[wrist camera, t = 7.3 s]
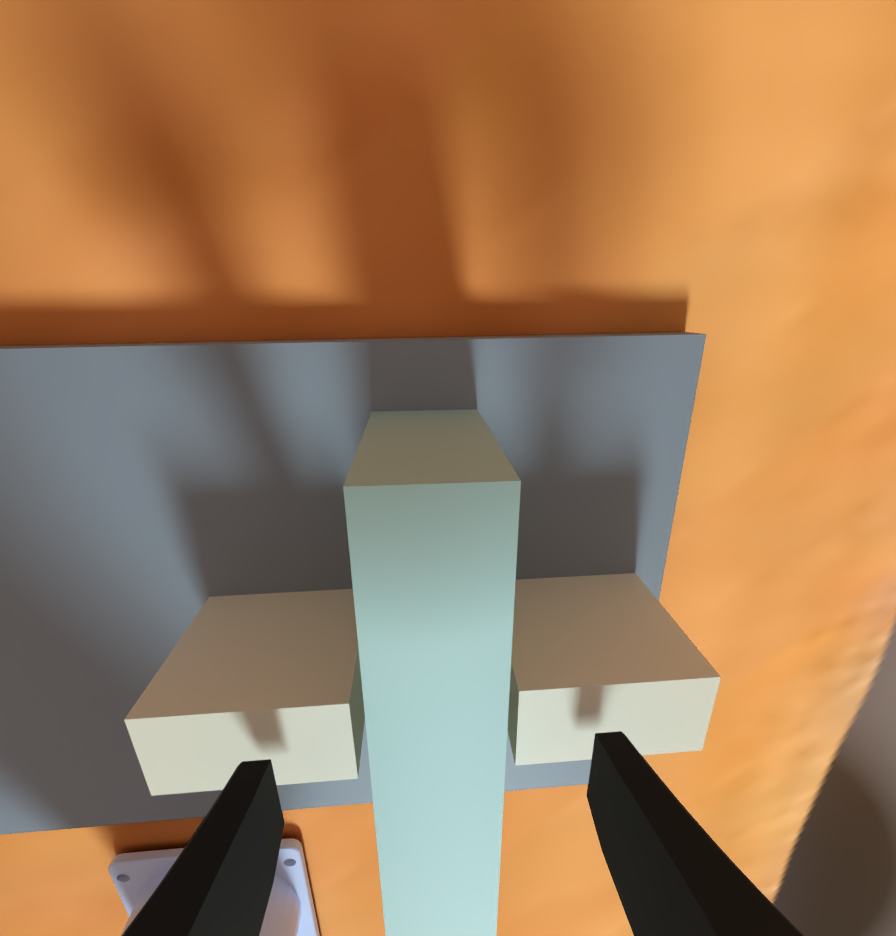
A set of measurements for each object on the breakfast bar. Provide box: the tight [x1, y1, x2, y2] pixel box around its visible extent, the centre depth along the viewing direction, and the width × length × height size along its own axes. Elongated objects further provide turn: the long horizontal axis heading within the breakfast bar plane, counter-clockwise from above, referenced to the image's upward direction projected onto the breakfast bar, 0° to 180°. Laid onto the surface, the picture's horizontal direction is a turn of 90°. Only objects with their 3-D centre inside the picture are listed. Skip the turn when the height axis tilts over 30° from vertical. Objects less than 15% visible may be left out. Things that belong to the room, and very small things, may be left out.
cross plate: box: [343, 409, 521, 936], centre depth 13 cm, size 14×3×6 cm, turn 0°
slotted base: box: [0, 332, 721, 835], centre depth 13 cm, size 18×26×6 cm
